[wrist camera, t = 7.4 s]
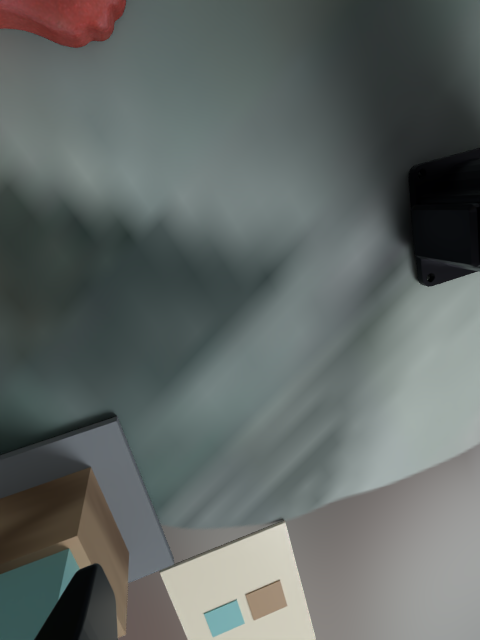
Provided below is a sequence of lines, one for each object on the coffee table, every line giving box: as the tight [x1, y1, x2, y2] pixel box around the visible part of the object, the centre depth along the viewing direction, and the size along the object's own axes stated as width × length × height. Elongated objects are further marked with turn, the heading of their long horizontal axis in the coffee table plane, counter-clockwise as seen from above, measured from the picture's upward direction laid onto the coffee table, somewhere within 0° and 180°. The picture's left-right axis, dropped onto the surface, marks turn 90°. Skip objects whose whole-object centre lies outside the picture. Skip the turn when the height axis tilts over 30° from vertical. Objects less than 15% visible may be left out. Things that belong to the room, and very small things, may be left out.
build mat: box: [0, 416, 174, 583], centre depth 21 cm, size 10×10×1 cm
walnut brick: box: [0, 467, 129, 638], centre depth 18 cm, size 6×6×4 cm
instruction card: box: [160, 520, 316, 640], centre depth 26 cm, size 8×11×1 cm
